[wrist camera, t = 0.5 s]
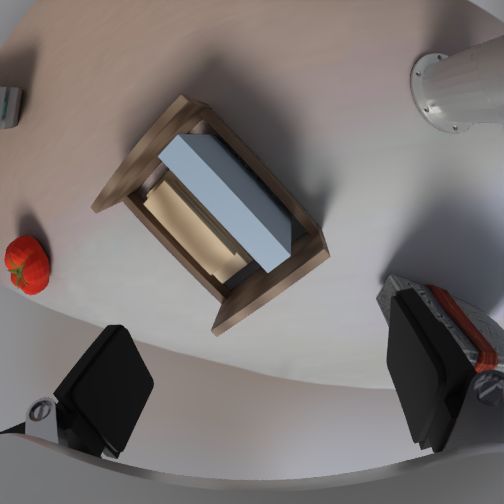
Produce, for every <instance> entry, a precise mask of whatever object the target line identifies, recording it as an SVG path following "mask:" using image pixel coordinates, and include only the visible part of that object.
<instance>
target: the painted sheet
mask: <svg viewBox="0 0 504 504" xmlns="http://www.w3.org/2000/svg"><path fill="white" fill-rule="evenodd" d="M158 157H159V158H160V159H161V160H162V162H163V163H164V164H165V165H166V166H167V167H168V168H169V169H170V170H171V171H172V172H173V173H174V174H175V175H176V176H177V178H178V179H179V180H180V181H181V182H182V183H183V184H184V185H185V186H186V187H187V188H188V189H189V190H190V191H191V192H192V193H193V194H194V196H195V197H196V198H197V199H198V200H199V201H200V202H201V203H202V204H203V205H204V206H205V207H206V208H207V209H208V210H209V211H210V213H211V214H212V215H213V216H214V217H215V218H216V219H217V220H218V221H219V222H220V223H221V224H222V225H223V226H224V227H225V228H226V229H227V231H228V232H229V233H230V234H231V235H232V236H233V237H234V238H235V239H236V240H237V241H238V242H239V243H240V244H241V245H242V246H243V247H244V248H245V250H246V251H247V252H248V253H249V254H250V255H251V256H252V257H253V258H254V259H255V260H256V261H257V262H258V263H259V264H260V265H261V266H262V268H263V269H264V270H265V271H266V272H267V273H269V272H270V271H272V270H273V269H274V268H276V267H277V266H278V265H279V264H281V263H282V262H283V261H285V260H286V259H287V258H289V257H290V256H291V217H290V216H289V215H288V214H287V212H286V211H285V210H284V209H283V208H282V207H281V206H280V205H279V203H278V202H277V201H276V200H275V199H274V198H273V197H272V196H271V194H270V193H269V192H268V191H267V190H266V189H265V188H264V187H263V186H262V185H261V183H260V182H259V181H258V180H257V179H256V178H255V177H254V176H253V175H252V174H251V173H250V172H249V170H248V169H247V168H246V167H245V166H244V165H243V164H242V163H241V162H240V161H239V160H238V159H237V158H236V157H235V156H234V154H233V153H232V152H231V151H230V150H229V149H228V148H227V147H226V146H225V145H224V144H223V143H222V142H221V141H220V140H219V139H218V138H217V137H216V136H215V135H196V134H178V135H177V136H176V137H175V138H174V139H173V140H172V141H171V142H170V144H169V145H168V146H167V147H166V148H165V149H164V150H163V151H162V152H161V154H160V155H159V156H158Z"/></svg>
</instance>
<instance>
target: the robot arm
mask: <svg viewBox="0 0 504 504" xmlns="http://www.w3.org/2000/svg"><path fill="white" fill-rule="evenodd" d="M416 74H417V75H416ZM410 86H411V92H412V96H413V99H414V101H415V104H416V106H417V108H418V109H419V111H420V112H421V114H422V115H423V116H424V118H425V119H426V120H427V121H428V122H429V123H430V124H432V125H433V126H434V127H436V128H437V129H439V130H442V131H444V132H449V133H460V132H464V131H466V130H468V129H469V128H470V127H471V126H472V125H473V124H474V123H500V124H504V35H502V36H500V37H497V38H495V39H492V40H489V41H487V42H484V43H482V44H479V45H476V46H474V47H471V48H469V49H466V50H464V51H461V52H459V53H456V54H454V55H452V56H448V55H445V54H441V53H432V54H427V55H425V56H423V57H422V58H420V59H419V60H418V61H417V62H416V63H415V65H414V67H413V69H412V72H411V77H410ZM424 109H425V111H424ZM453 127H454V129H453ZM387 367H388V370H389V372H390V375H391V378H392V380H393V383H394V386H395V388H396V391H397V394H398V397H399V400H400V403H401V406H402V408H403V411H404V414H405V417H406V420H407V424H408V426H409V430H410V433H411V436H412V439H413V442H414V443H418V442H419V445H420V448H421V450H423V449H426V448H429V447H432V450H433V452H434V454H430V455H427V456H423V457H419V458H415V459H412V460H407V461H403V462H399V463H395V464H391V465H387V466H382V467H378V468H373V469H368V470H363V471H357V472H351V473H345V474H338V475H331V476H323V477H314V478H303V479H287V480H227V479H212V478H201V477H192V476H184V475H176V474H169V473H164V472H158V471H153V470H147V469H142V468H138V467H133V466H129V465H125V464H121V463H117V462H113V461H109V460H106V459H102V457H101V454H102V452H103V453H104V454H105V455H106V456H108V457H112V458H115V459H118V457H119V454H120V452H122V451H123V450H124V449H125V447H126V444H127V442H128V440H129V438H130V436H131V434H132V431H133V429H134V427H135V425H136V423H137V421H138V419H139V417H140V414H141V412H142V410H143V408H144V406H145V404H146V402H147V399H148V398H149V396H150V393H151V391H152V389H153V386H154V382H153V379H152V377H151V375H150V373H149V371H148V369H147V367H146V366H145V364H144V361H143V360H142V358H141V356H140V354H139V352H138V350H137V348H136V346H135V344H134V342H133V339H132V337H131V335H130V333H129V331H128V330H127V329H126V328H125V327H124V326H123V325H108V326H107V327H106V328H105V329H104V330H103V331H102V333H101V334H100V335H99V336H98V338H97V339H96V340H95V341H94V342H93V343H92V345H91V346H90V347H89V348H88V349H87V351H86V352H85V353H84V354H83V356H82V357H81V358H80V359H79V361H78V362H77V363H76V364H75V366H74V367H73V368H72V370H71V371H70V372H69V373H68V375H67V376H66V377H65V379H64V380H63V381H62V383H61V384H60V385H59V386H58V388H57V389H56V390H55V392H54V393H53V394H54V396H55V397H56V398H57V399H58V401H59V402H58V403H57V404H56V403H55V401H54V400H53V399H51V398H49V397H44V398H40V399H39V400H37V401H35V402H34V403H33V404H32V405H31V406H30V407H29V409H28V411H27V413H26V422H24V423H21V424H19V425H16V426H14V427H12V428H9V429H7V430H4V431H2V432H0V504H504V373H503V372H501V371H498V370H490V369H489V370H484V371H481V372H480V373H477V371H476V370H475V368H474V367H473V365H472V364H471V362H470V361H469V359H468V358H467V356H466V355H465V353H464V352H463V350H462V349H461V347H460V346H459V344H458V343H457V341H456V340H455V339H454V337H453V336H452V334H451V333H450V332H449V330H448V329H447V327H446V326H445V325H444V324H443V323H442V322H441V321H438V320H437V318H436V317H435V316H434V314H433V313H432V312H431V310H430V309H429V308H428V306H427V305H426V304H425V302H424V301H423V300H422V298H421V297H420V296H419V295H418V293H417V292H416V291H415V289H413V288H409V289H404V290H399V291H397V292H396V294H395V296H392V297H391V301H390V322H389V337H388V348H387Z"/></svg>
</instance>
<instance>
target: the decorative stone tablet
mask: <svg viewBox="0 0 504 504" xmlns="http://www.w3.org/2000/svg"><path fill="white" fill-rule="evenodd" d="M409 288H413V289H415V291H416V292H417V293H418V295H419V296H420V297H421V298H422V300H423V301H424V302H425V304H426V305H427V306H428V308H429V309H430V310H431V312H432V313H433V314H434V316H435V317H436V318H437V320H438V321H441V322H442V323H443V324H444V325H445V326H446V327H447V329H448V330H449V332H450V333H451V334H452V336H453V337H454V339H455V340H456V341H457V343H458V344H459V346H460V347H461V349H462V350H463V352H464V353H465V355H466V356H467V358H468V359H469V361H470V362H471V364H472V365H473V367H474V368H475V370H476V371H477V373H480V372H481V371H484V370H489V369H490V370H498V371H501V372H503V373H504V330H503V329H502V328H501V327H500V326H499V324H498V323H497V322H495V321H494V320H493V319H491V318H490V317H489V316H487V315H486V314H485V313H483V312H482V311H480V310H479V309H477V308H475V307H473V306H471V305H470V304H468V303H465V302H463V301H461V300H459V299H456V298H454V297H452V296H451V295H450V294H449V293H448V292H447V291H446V290H443V289H441V288H438V287H435V286H433V285H426V287H424V286H422V285H419V284H417V283H415V282H412V281H410V280H407V279H405V278H402V277H400V276H397V275H395V274H391V275H389V277H388V278H387V280H386V282H385V284H384V285H383V287H382V289H381V291H380V292H379V294H378V296H377V297H376V300H377V302H378V304H379V306H380V308H381V311H382V313H383V315H384V317H385V320H386V322H387V324H388V326H389V322H390V301H391V297H392V296H395V294H396V292H397V291H399V290H404V289H409Z"/></svg>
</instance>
